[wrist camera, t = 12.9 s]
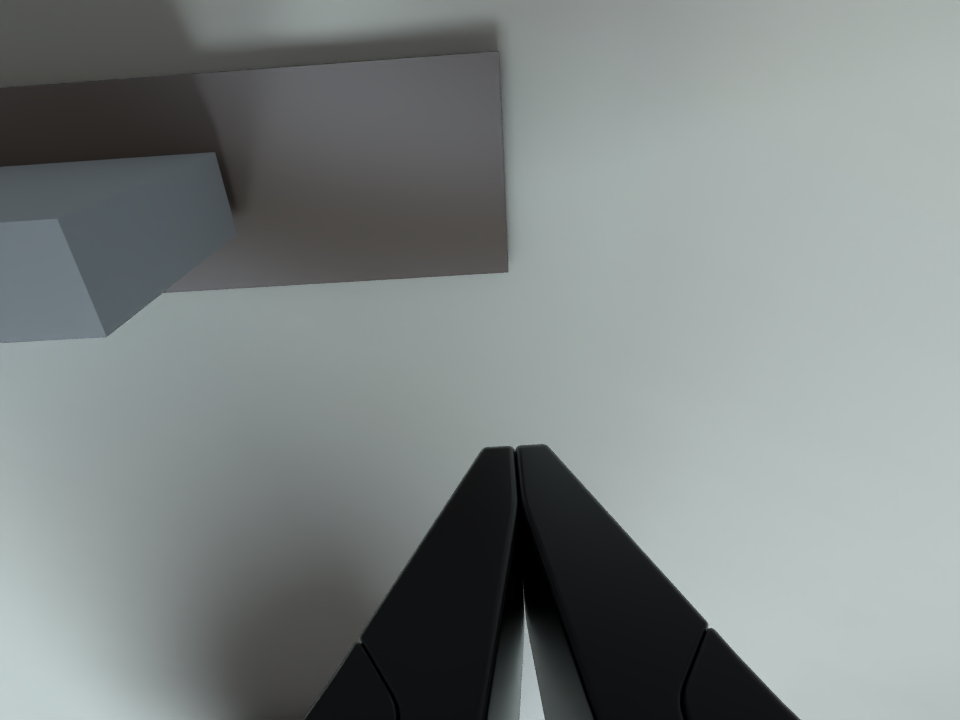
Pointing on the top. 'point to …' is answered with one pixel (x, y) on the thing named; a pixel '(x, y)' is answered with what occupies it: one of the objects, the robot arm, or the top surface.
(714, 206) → the top surface
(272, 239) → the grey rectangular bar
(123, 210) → the grey flat block
